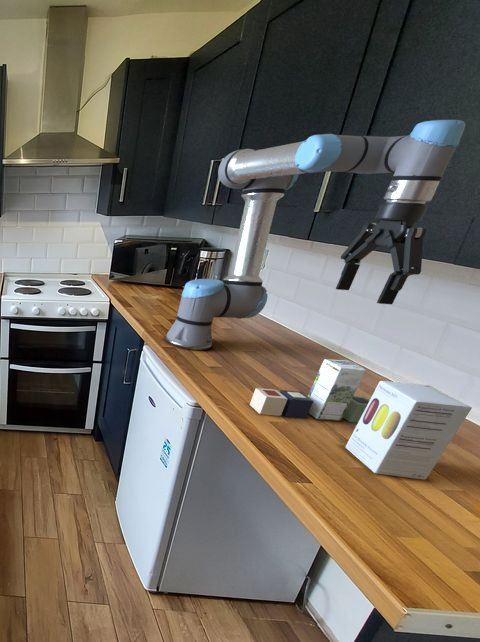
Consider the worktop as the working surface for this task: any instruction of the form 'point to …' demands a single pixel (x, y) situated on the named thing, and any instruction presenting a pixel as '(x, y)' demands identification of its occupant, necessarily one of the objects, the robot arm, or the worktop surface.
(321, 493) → the worktop surface
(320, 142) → the robot arm
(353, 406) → the block
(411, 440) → the supplement box
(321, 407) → the syrup box
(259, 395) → the block
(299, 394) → the block
